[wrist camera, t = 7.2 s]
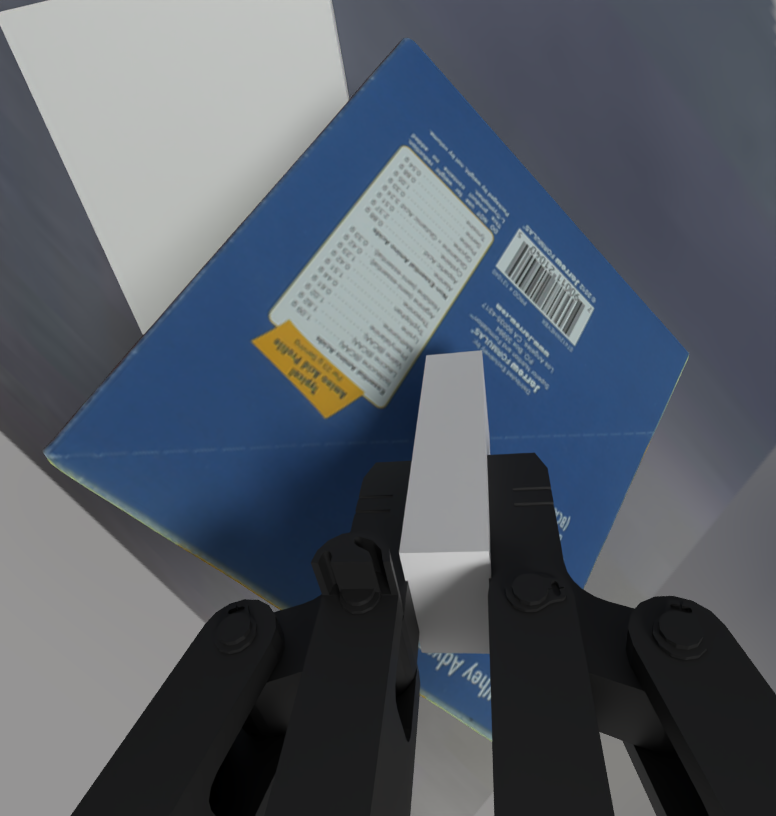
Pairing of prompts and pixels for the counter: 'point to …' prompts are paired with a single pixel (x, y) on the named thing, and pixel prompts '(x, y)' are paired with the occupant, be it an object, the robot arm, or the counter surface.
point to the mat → (176, 118)
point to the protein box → (377, 354)
